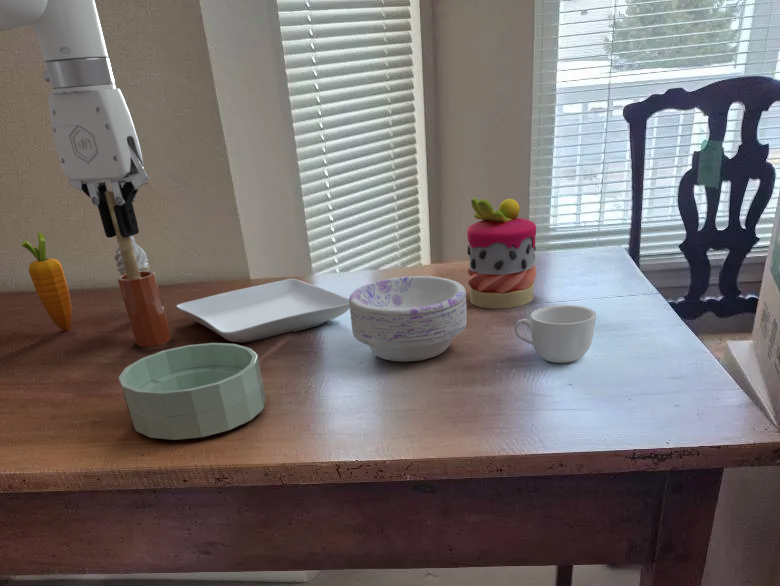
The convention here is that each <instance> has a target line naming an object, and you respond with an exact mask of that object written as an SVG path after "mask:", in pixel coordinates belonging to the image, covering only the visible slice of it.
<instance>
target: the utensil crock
mask: <svg viewBox="0 0 780 586" xmlns="http://www.w3.org/2000/svg"><path fill="white" fill-rule="evenodd" d="M139 272H140V276H141V278H138V279H128V278H127V274H124V275H122V276H121V275H120V276H118V277H117V281H118V285H119V288H120V293H121V295H122V299H123V302H124V305H125V309H126V313H127V317H128V319H129V323H130V327H131V330H132V334H133V338H134V341H135V344H136V345H137V346H138V347H142V348H151V347H157V346H161V345H165V344H167V343H169V342H170V341H171V340H172V335H171V331H170V327H169V323H168V320H167V315H166V311H165V307H164V303H163V299H162V296H161V291H160V288H159V285H158V280H157V276H156V273H155V271H151V270H149V271H139Z"/></svg>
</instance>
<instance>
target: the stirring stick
mask: <svg viewBox="0 0 780 586" xmlns="http://www.w3.org/2000/svg"><path fill="white" fill-rule="evenodd" d="M105 196H106V200H107V204H108V207H109V211H110V215H111V219H112V222H113V226H114V230H115V233H116V236H115V237H116V242H117V241H118V242H117V245H118V247H119V248H120V252H121V256H122V259H123V263H124V267H125V271H126V274H127V278H128V279H138V278H141V276H140V272H139V268H138V264H137V261H136V257H135V253H134V249H133V245H132V241H131V237H130V236H129V237H122V236H121V234H120V231H119V227H118V223H117V219H116V216H115V212H114V206H116V205H117V203H116V201H115V198H114V194H113V190H112V189H111V190H110V191H105Z"/></svg>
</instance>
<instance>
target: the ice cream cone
mask: <svg viewBox="0 0 780 586" xmlns="http://www.w3.org/2000/svg"><path fill="white" fill-rule="evenodd" d="M130 237H131V241H132V245H133V249H134V253H135V257H136V261H137V264H138V268H139V271H150V266H151V265H150V263H149V259H148V258H147V253H146V251H144V249H143V248H142V247H140V246H139V245H138V244H137V243H136V239H135V237H134V235H132V236H130ZM116 242H117V243H118V241H117V240H116ZM114 260H115V261H116V267H117V271H118V272H119V274H120V276H122V275H124V274H126V271H125V267H124V263H123V259H122V256H121V252H120V248H119V246H118V247H117V249H116V251H115V256H114Z"/></svg>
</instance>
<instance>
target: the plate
mask: <svg viewBox="0 0 780 586" xmlns="http://www.w3.org/2000/svg"><path fill="white" fill-rule="evenodd" d="M175 307H176V310H177V311H179V312H180V313H181V314H182V315H184V316H185V317H187V318H188V319H190V320H191V321H194V322H197V323H198V324H200V325H202V326H203V327H205V328H207V329H209V330H211V331H213V332H215V333H216V334H218V335H219V336H221V338H223V339H224V340H227V341H229V342H233V343H251V342H255V341H258V340H263V339H267V338H270V337H274V336H278V335H281V334H286V333H289V332H291V333H296V332H299V331H303V330H307V329H311V328H314V327H318V326H321V325H323V324H325V323H326V322H329V321H332V320H334V319H336V318H339V317H340V316H342V315H343V314H346V312H348V311H349V310H350V307H349V298H348V297H345V296H344V295H341V294H338V293H336V292H333V291H330V290H328V289H326V288H322V287H319V286H317V285H315V284H312V283H309V282H305V281H304V280H300V279H296V278H286V279H283V280H277V281H273V282H267V283H265V284H259V285H253V286H248V287H244V288H240V289H234V290H231V291H227V292H223V293H222V292H221V293H218V294H214V295H209V296H206V297H202V298H198V299H193V300H190V301H185V302H182V303H178V304H176V306H175Z"/></svg>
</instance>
